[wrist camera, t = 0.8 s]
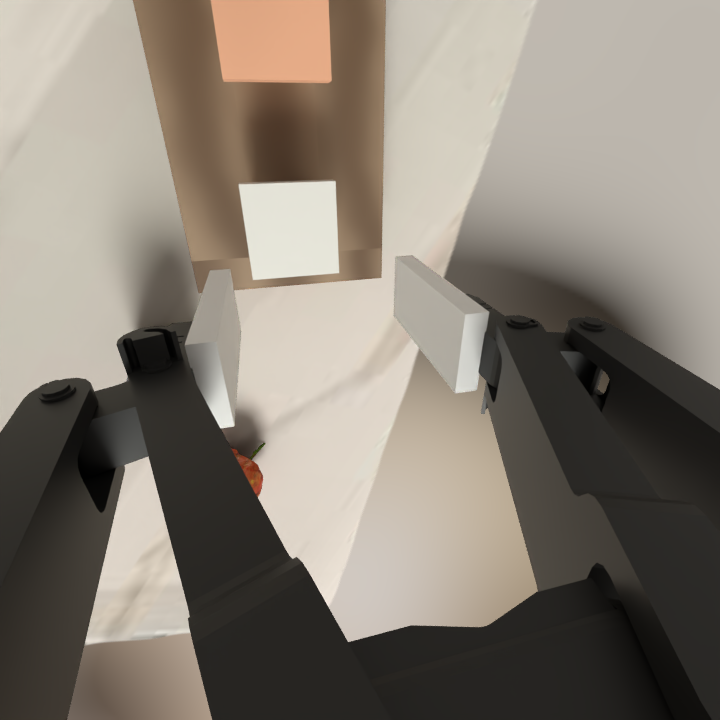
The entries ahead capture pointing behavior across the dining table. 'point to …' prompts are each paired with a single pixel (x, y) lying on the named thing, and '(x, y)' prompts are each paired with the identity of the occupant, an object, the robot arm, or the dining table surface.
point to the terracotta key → (273, 40)
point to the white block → (291, 227)
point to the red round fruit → (251, 470)
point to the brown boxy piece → (269, 135)
